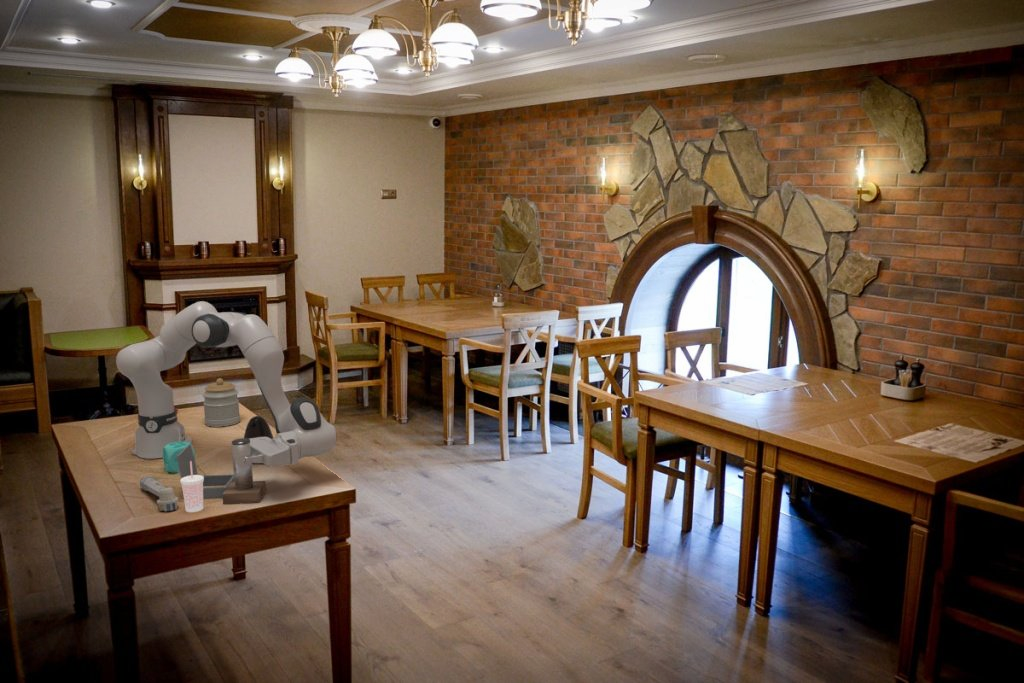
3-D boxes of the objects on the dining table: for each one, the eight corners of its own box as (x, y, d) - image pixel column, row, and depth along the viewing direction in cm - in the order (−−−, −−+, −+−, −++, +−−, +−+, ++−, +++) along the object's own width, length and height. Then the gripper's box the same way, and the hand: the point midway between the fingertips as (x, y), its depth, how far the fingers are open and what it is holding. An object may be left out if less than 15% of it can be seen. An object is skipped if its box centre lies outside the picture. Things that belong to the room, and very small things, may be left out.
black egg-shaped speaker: (237, 465, 267) (234, 420, 265) (251, 455, 278) (249, 411, 275) (267, 466, 266) (264, 421, 263) (280, 456, 276) (278, 412, 274)
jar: (236, 426, 312) (233, 381, 309) (201, 428, 310) (197, 382, 307) (243, 417, 325) (240, 374, 322) (209, 419, 323) (205, 375, 320)
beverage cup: (199, 503, 234) (195, 456, 232) (210, 508, 230) (206, 460, 228) (178, 509, 230) (174, 461, 227) (189, 515, 226) (185, 466, 224)
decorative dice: (170, 474, 259) (167, 450, 257) (163, 468, 265) (161, 444, 264) (196, 469, 264) (194, 445, 262) (189, 463, 270) (187, 439, 268)
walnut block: (231, 491, 244) (231, 482, 243) (266, 490, 244) (265, 480, 244) (222, 504, 234) (222, 494, 233) (258, 502, 235) (258, 492, 234)
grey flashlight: (154, 473, 249) (178, 484, 229) (157, 495, 249) (181, 508, 230) (136, 477, 246) (159, 489, 226) (139, 499, 246) (161, 512, 226)
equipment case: (191, 485, 249) (187, 444, 247) (236, 483, 250) (233, 442, 248) (179, 499, 238) (175, 456, 235) (227, 497, 239) (223, 454, 237)
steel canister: (237, 484, 241) (234, 438, 238) (255, 483, 241) (251, 438, 239) (233, 490, 236) (229, 443, 233) (251, 490, 236) (247, 443, 234)
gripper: (270, 429, 252) (225, 437, 244) (298, 444, 236) (252, 454, 228) (271, 449, 253) (227, 458, 245) (300, 465, 238) (253, 476, 229)
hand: (239, 456), depth 236 cm, fingers open, 8 cm apart
